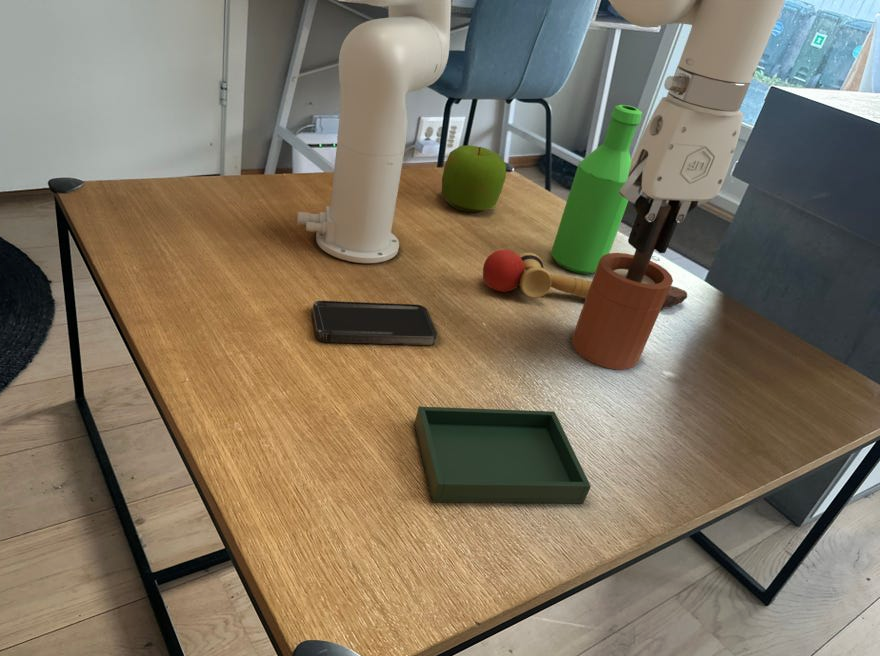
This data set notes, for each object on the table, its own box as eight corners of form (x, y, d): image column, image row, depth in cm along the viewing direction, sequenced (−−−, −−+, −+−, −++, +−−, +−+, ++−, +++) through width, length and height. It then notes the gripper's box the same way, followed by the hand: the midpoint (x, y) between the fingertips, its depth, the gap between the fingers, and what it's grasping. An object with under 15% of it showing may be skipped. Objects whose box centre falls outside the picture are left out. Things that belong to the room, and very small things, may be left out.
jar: (585, 367, 89) (616, 285, 82) (562, 329, 96) (589, 250, 90) (649, 371, 91) (685, 290, 84) (622, 332, 98) (653, 255, 91)
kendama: (583, 292, 109) (474, 264, 105) (603, 261, 105) (491, 230, 101) (592, 326, 104) (478, 297, 100) (614, 294, 99) (495, 263, 96)
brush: (649, 326, 89) (695, 216, 80) (608, 324, 88) (651, 212, 79) (631, 303, 93) (673, 197, 85) (592, 301, 92) (631, 192, 84)
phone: (312, 300, 89) (425, 304, 93) (311, 307, 90) (424, 311, 94) (318, 334, 83) (439, 338, 87) (317, 342, 84) (437, 345, 88)
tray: (433, 502, 66) (437, 484, 64) (414, 423, 75) (418, 406, 73) (583, 503, 69) (591, 486, 67) (548, 427, 78) (554, 411, 76)
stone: (632, 301, 106) (640, 283, 105) (644, 285, 112) (652, 268, 110) (675, 319, 104) (683, 300, 102) (685, 302, 110) (693, 284, 108)
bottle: (603, 281, 111) (662, 122, 97) (549, 268, 111) (599, 108, 97) (601, 258, 118) (656, 107, 104) (550, 246, 119) (597, 94, 104)
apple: (505, 219, 125) (521, 160, 119) (447, 216, 122) (461, 155, 116) (485, 194, 134) (498, 138, 127) (431, 191, 131) (442, 132, 125)
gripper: (665, 96, 69) (605, 262, 80) (789, 108, 75) (717, 263, 85) (625, 75, 75) (574, 233, 85) (742, 87, 80) (680, 235, 91)
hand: (646, 247), depth 85 cm, fingers closed on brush
